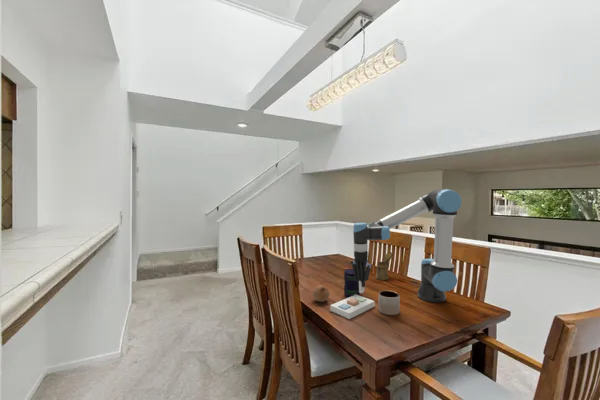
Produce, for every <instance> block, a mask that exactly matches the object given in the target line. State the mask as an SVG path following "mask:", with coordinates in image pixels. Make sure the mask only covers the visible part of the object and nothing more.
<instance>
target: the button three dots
mask: <svg viewBox="0 0 600 400" xmlns="http://www.w3.org/2000/svg"><path fill="white" fill-rule="evenodd" d="M347 304H349V305H352V306H355V305H357V304H359V300H356V299H353V298H351V299H349V300H347Z"/></svg>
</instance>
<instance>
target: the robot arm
mask: <svg viewBox="0 0 600 400" xmlns="http://www.w3.org/2000/svg"><path fill="white" fill-rule="evenodd" d="M417 199H418V200H416V201H415V202H412V203H410V204H409V205H406V206H405V207H402V208H400V209H399V210H396V211H395V212H392V213H391V214H388V215H387V216H384V217H382V218H380V219H379V220H378V219H377V220H376V221H372V222H369V223H367V222H356V223H354V224H353V231H352V232H353V257H354V260H351V261H350V264H351V266H352V269H353V271H354V276H355V279H357V280H358V286H359V292H360V294H362V293H364V292H365V287H366V282H367V281H369V278H370V272H371V268H372V267H373V265H372V264H370V263H369V261H368V258H369V252H368V246H369V245H368V242H369V241H387V240H388V241H389V240H390V238H391V230H390V229H393V228H395V227H396V226H397V227H398V226H399V225H401V224H403V223H405V222H407V221H409V220H411V219H413V218H415V217H417V216H419V215H421V214H423V213H430V212H432V215H433V216H434V218H435V222H434V245H433V258H422V259H421V264H420V269H421V270H420V272H421V273H420V278H421V280H420V285H419V288H418V290H417V297H418V298H419V299H421V300H423V301H426V302H429V303H444V302H446V300H447V296H446V292H449V291H452V290H453V289H454V288H455V287H456V286H457V284H458V278H457V275H456V274H455V264H454V263H452V253H453V251H452V250H453V235H454V233H453V232H454V219H455V218H456V217H457V216H458V210H459V209H460V208H461V207H462V201H463V200H462V197H461V195H460V194H459V192H457V191H455V190H453V189H448V188H436V189H433V190H431V191H429V192H427V193H426V194H424V195H422V196H421V197H419V198H417Z"/></svg>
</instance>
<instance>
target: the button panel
mask: <svg viewBox="0 0 600 400" xmlns="http://www.w3.org/2000/svg"><path fill="white" fill-rule="evenodd" d="M358 297H362V298H365V299H367V300H366V301H364V302H359V304H357V305H355V306H352V305H349V304H347V300H349V299H351V298H353V299H356V298H358ZM375 302H376V301H374V300H372V299H370V298H367V297H364V296H361V295H360V296H359V295H353V296H351V297H349V298H348V297H345V298H344V299H342V300H339V301H337V302H335V303H333V304H332V303H331V304H330V307H329V308H330V309H329V310H330V312H332V313H334V314H337V315H339V316H341V317H343V318H346V319H348V320H351V319H352V318H354V317H357V316H358V315H359V316H360V314H362V313H364V312H366V311H369V310H370V309H373V308H374V307H375V306H376V304H375ZM342 304H346V305H349V306H351V308H349V309H347V310H344V309H341V308H339V307H338V306H340V305H342Z"/></svg>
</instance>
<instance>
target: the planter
mask: <svg viewBox="0 0 600 400" xmlns="http://www.w3.org/2000/svg"><path fill="white" fill-rule="evenodd" d="M400 297H401V296H400V293H398V292H397V291H394V290H390V289H389V290H388V289H386V290H385V289H384V290H380V291H379V292H378V300H377V301H378V306H377V307H378V312H380V313H381V314H383V315H385V316H397V315H398V314H400V311H401V310H400V309H401V308H400V302H401V301H400Z"/></svg>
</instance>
